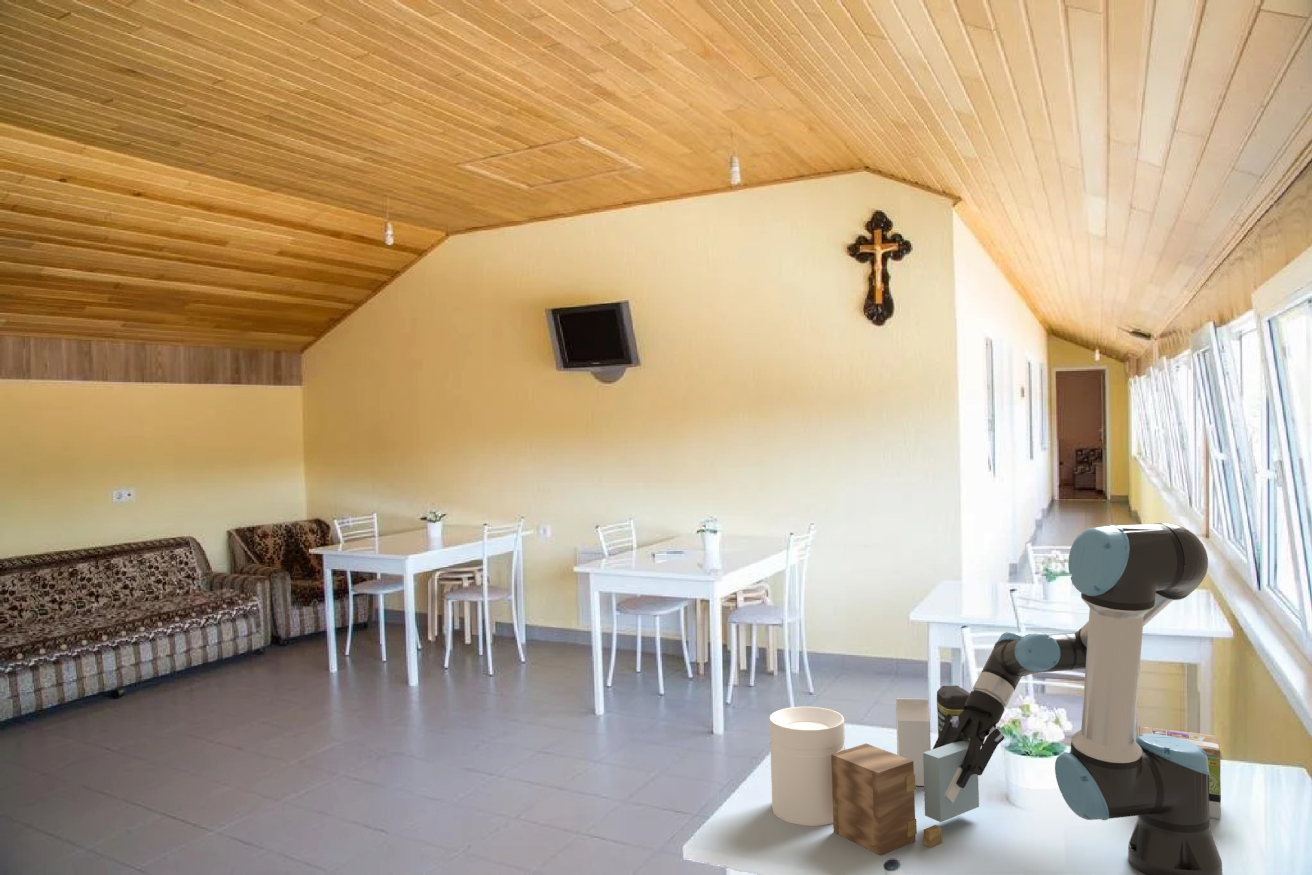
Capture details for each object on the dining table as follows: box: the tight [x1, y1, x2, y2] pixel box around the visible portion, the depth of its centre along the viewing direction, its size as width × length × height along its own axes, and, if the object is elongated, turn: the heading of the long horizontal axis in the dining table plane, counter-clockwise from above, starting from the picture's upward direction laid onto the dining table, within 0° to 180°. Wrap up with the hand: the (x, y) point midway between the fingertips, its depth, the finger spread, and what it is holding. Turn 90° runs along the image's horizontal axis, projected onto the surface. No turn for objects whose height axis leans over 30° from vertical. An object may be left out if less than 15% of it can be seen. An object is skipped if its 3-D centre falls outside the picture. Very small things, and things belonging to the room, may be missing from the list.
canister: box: [769, 706, 846, 827], centre depth 200 cm, size 16×16×20 cm
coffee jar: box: [936, 684, 971, 742], centre depth 222 cm, size 10×8×19 cm
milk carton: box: [895, 697, 932, 787], centre depth 214 cm, size 7×7×19 cm
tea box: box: [1138, 725, 1222, 820], centre depth 196 cm, size 15×10×15 cm
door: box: [923, 740, 980, 823], centre depth 191 cm, size 4×12×13 cm, turn 123°
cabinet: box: [831, 743, 943, 856], centre depth 186 cm, size 16×14×16 cm
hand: (939, 795), depth 189 cm, fingers closed on door, 4 cm apart
